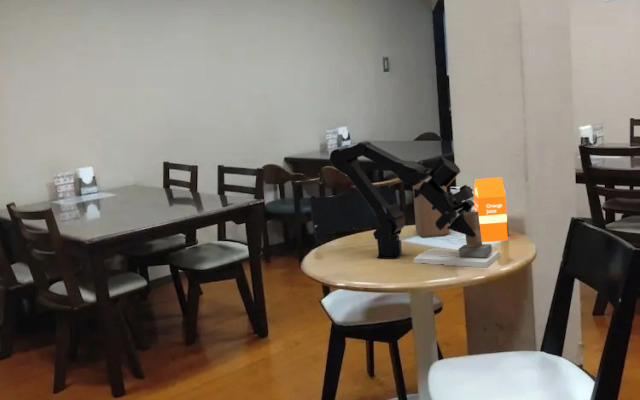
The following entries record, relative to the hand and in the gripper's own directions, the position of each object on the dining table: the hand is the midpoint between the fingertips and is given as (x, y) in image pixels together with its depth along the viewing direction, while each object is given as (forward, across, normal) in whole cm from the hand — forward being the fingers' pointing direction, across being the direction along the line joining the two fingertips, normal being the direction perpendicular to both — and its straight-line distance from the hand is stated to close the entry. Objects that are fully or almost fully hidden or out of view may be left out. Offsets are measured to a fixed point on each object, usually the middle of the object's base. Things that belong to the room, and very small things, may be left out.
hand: (476, 234), depth 193 cm
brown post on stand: (+4, 0, +5) cm, 6 cm away
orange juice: (+2, +28, +9) cm, 29 cm away
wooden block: (-14, +31, +25) cm, 42 cm away
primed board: (+1, 0, +10) cm, 10 cm away
